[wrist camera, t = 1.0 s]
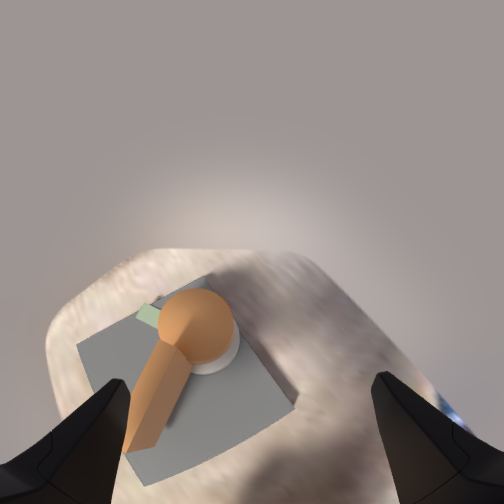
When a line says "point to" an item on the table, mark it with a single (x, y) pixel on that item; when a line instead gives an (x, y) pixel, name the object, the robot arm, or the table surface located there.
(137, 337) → the base
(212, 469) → the table surface
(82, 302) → the table surface
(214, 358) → the lever cap
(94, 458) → the robot arm
